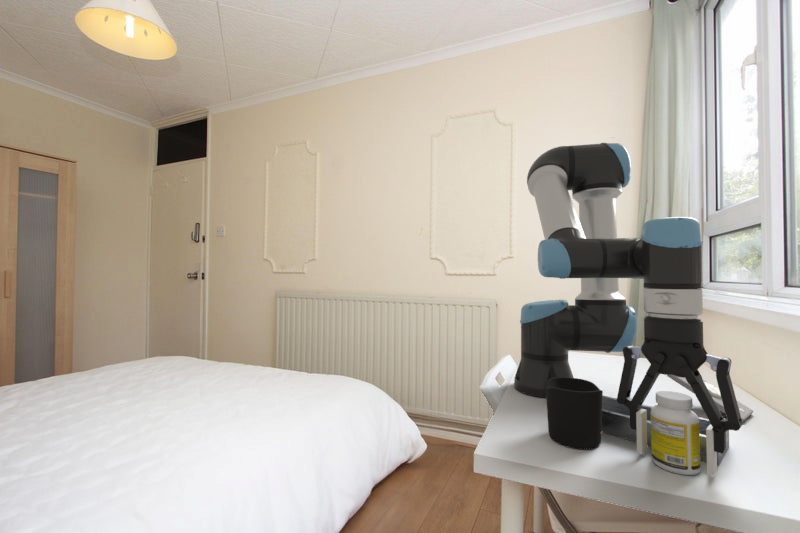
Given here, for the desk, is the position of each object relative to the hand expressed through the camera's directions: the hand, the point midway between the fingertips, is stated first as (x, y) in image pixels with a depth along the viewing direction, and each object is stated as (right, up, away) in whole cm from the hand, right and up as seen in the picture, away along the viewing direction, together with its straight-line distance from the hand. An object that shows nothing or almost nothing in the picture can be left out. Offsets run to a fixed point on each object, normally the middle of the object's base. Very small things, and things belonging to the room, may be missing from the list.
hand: (675, 460), depth 58 cm
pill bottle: (0, -1, 0) cm, 1 cm away
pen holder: (-11, -1, +10) cm, 15 cm away
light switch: (+26, -2, +24) cm, 35 cm away
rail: (+4, -1, +11) cm, 12 cm away
